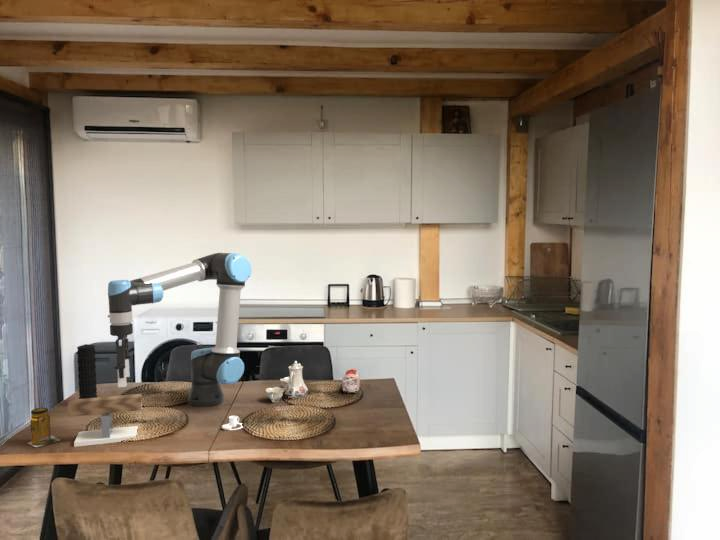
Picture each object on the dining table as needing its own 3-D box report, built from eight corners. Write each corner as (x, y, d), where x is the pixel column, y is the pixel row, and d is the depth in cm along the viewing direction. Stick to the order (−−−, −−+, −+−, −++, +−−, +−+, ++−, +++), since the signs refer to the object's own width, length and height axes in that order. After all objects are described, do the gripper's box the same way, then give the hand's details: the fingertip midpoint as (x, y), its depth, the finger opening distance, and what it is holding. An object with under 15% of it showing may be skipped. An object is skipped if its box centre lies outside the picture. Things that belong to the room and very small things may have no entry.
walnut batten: (142, 407, 213) (141, 393, 213) (141, 410, 210) (140, 396, 209) (70, 413, 207) (69, 399, 207) (68, 417, 203) (67, 403, 203)
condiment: (27, 443, 205) (25, 409, 204) (52, 436, 211) (50, 404, 210) (35, 448, 200) (33, 413, 199) (60, 441, 206) (59, 407, 206)
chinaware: (281, 390, 275) (277, 355, 274) (316, 388, 272) (312, 353, 271) (263, 408, 247) (258, 370, 246) (301, 406, 244) (296, 367, 243)
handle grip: (70, 408, 243) (91, 409, 241) (67, 346, 241) (88, 347, 239) (85, 401, 253) (106, 402, 251) (83, 341, 251) (104, 342, 249)
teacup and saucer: (223, 432, 215) (223, 422, 214) (218, 426, 222) (218, 415, 222) (246, 428, 219) (246, 418, 218) (240, 422, 226) (240, 412, 226)
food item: (359, 394, 261) (359, 373, 260) (341, 394, 261) (341, 373, 260) (360, 386, 274) (360, 365, 274) (343, 386, 275) (343, 365, 274)
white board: (138, 429, 217) (137, 425, 217) (136, 440, 207) (136, 435, 207) (79, 435, 211) (79, 431, 211) (74, 446, 201) (74, 442, 201)
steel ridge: (112, 429, 214) (111, 408, 213) (109, 437, 205) (108, 415, 204) (104, 430, 213) (104, 408, 212) (101, 438, 204) (101, 416, 204)
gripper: (113, 318, 218) (116, 374, 220) (105, 330, 195) (108, 392, 197) (134, 317, 221) (137, 372, 222) (129, 328, 197) (132, 390, 199)
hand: (124, 381), depth 209 cm, fingers open, 13 cm apart
